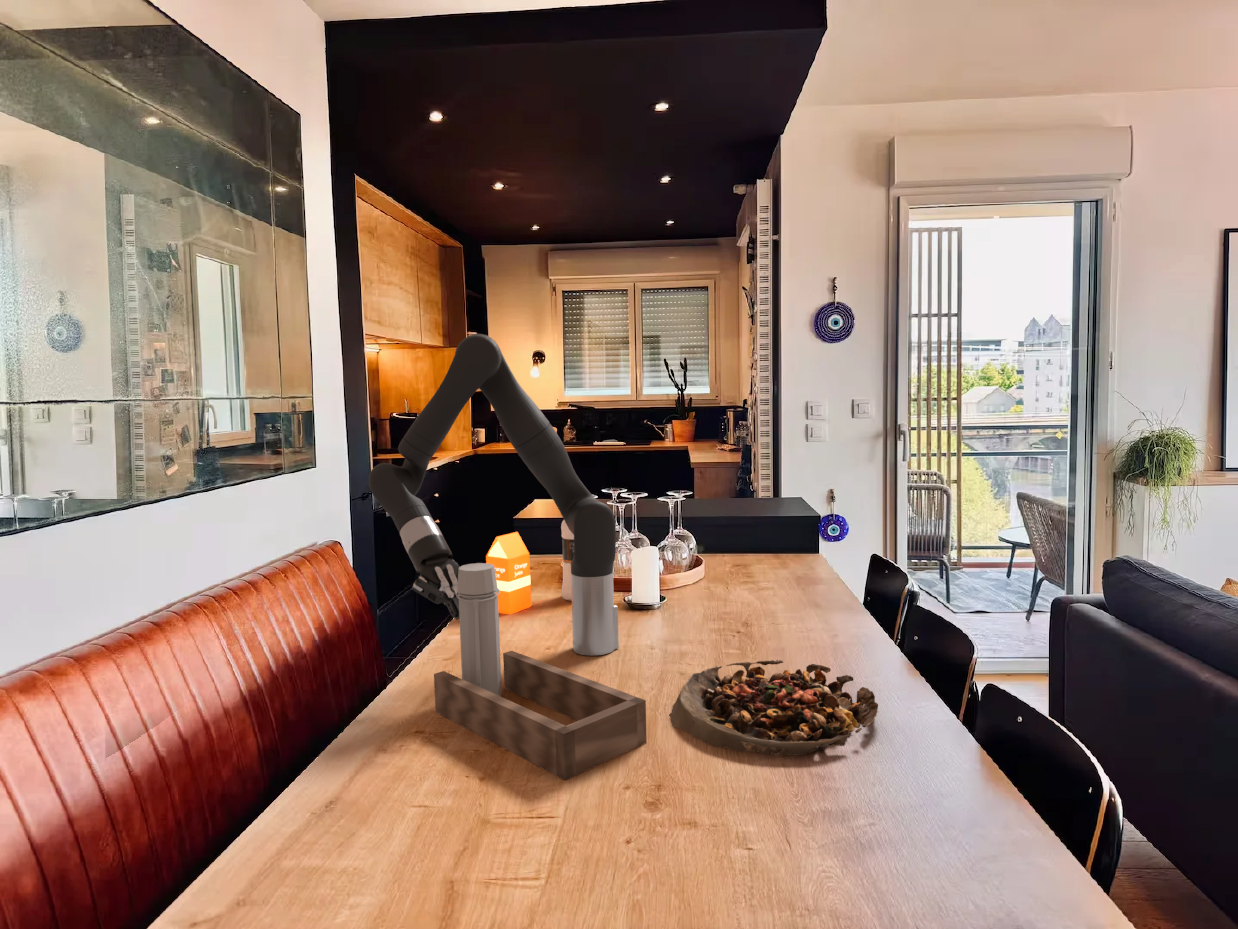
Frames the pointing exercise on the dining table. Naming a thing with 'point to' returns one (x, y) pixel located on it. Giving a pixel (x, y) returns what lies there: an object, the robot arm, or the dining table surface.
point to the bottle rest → (561, 750)
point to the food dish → (771, 710)
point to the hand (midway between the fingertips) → (461, 616)
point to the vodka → (567, 560)
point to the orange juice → (511, 572)
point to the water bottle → (479, 626)
